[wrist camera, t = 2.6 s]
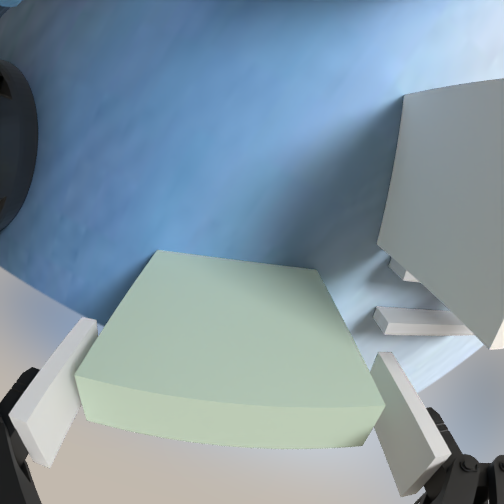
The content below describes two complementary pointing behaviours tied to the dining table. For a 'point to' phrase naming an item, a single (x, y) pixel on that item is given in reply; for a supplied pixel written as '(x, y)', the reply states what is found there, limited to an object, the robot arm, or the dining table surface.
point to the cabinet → (449, 212)
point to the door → (230, 359)
